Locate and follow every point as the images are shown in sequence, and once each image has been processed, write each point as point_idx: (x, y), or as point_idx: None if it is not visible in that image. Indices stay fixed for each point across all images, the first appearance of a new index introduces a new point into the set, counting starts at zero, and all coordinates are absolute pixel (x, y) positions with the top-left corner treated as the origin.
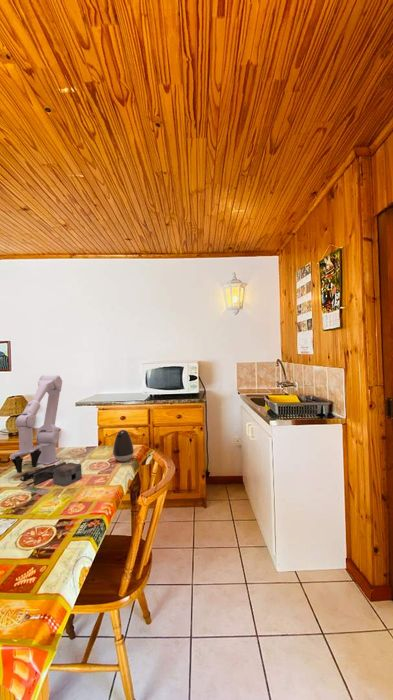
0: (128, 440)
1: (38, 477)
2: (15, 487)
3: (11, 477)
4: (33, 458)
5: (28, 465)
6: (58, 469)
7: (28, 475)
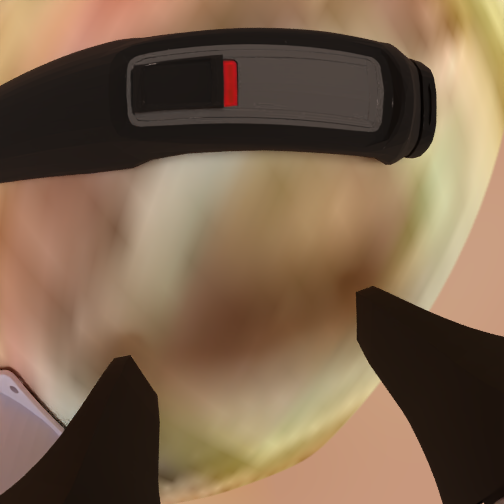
0: None
1: None
2: (475, 28)
3: None
4: (131, 491)
5: None
6: None
7: (380, 45)
